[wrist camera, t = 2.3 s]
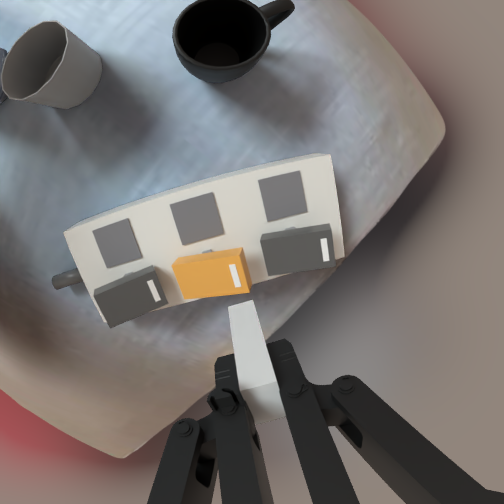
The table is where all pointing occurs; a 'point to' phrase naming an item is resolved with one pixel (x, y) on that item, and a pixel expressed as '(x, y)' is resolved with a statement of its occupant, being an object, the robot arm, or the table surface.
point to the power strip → (204, 223)
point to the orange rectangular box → (213, 274)
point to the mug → (225, 36)
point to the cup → (51, 67)
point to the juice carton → (0, 58)
